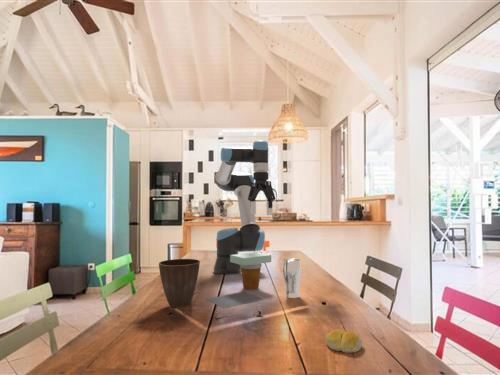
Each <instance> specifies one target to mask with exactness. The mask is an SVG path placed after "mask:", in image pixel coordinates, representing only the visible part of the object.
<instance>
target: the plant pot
mask: <svg viewBox="0 0 500 375" xmlns="http://www.w3.org/2000/svg"><path fill="white" fill-rule="evenodd" d="M200 263H201V261H200V260H199V259H194V258H193V259H192V258H175V259H167V260H162V261H159V262H158V270H159V276H160V280H161V284H162V288H163V291H164V295H165V298H166V301H167V303H168V305H169V308H171V307H172V308H171V309H175V308H178V307H185V306H188V305H190V304H192V301H193V297H194V295H195V294H194V293H195V292H196V286H197V282H198V278H199V271H200Z"/></svg>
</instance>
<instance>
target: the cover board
mask: <svg viewBox="0 0 500 375" xmlns="http://www.w3.org/2000/svg"><path fill="white" fill-rule="evenodd" d="M230 262H232V263H236V264H240V265H244V266H246V265H253V264H266V263H267V264H268V263H272V254H268V253H263V252H262V253H261V252H259V251H252V252H244V253H238V254H235V255H230Z"/></svg>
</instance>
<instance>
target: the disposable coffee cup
mask: <svg viewBox="0 0 500 375" xmlns="http://www.w3.org/2000/svg"><path fill="white" fill-rule="evenodd" d="M262 265H263V263H261V264H253V265H246V266H244V265H240V267H241V272H240V273H241V278H242V279H241V280H242V286H243V289H244V290H248V291H254V290H257V289H259V287H260V279H261V268H262Z"/></svg>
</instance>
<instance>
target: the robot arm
mask: <svg viewBox="0 0 500 375" xmlns="http://www.w3.org/2000/svg"><path fill="white" fill-rule="evenodd" d="M252 144H253V145H252V147H231V146H228V147H222V148H221V149H220V161H221V163H220V166H219V169H218V171H217V172H215V176H214V182H215V185H216V186H217V187H218V188H219V189H221V190H222V191H225V192H233V194H234V195H235V196H236V197H237V203H238V212H239V218H240V223H241V224H240V225H241V227H240V228H239V229H238V227H232V228H225V229H219V230H218V231H217V232H216V259H215V261H214V265H213V273H214V274H219V275H235V274H239V273H242V272H241V267H240V264H236V263H232V262H230V255H235V254H239V252H240V253H241V252H242V253H243V252H244V253H247V252H260V251H262V250H263V248H264V246H265V240H266V238H265V237H266V233H265V231H264V230H263V229H261V226H260V225H259V224H257V220H256V214H257V201H256V199H257V197H258V195H259V193H260V192H263V195H265V198H266V215H267V216H272V215H273V203H274V202H273V201H275V200H277V199H276V196H275V192H274V190H273V187H272V180H269V172H268V171H269V148H270V147H269V142H268V141H266V140H255V141H254V142H252ZM237 163H250V164H252V165H253V169H252V170H253V175H252V173H249V172H233V171H234V168H235V167H236V164H237Z"/></svg>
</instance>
